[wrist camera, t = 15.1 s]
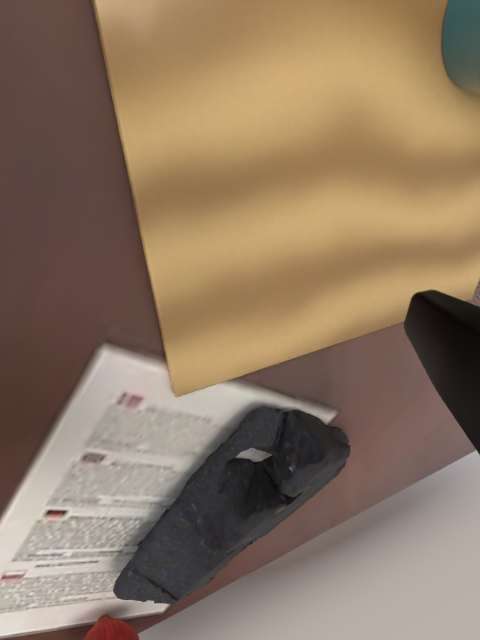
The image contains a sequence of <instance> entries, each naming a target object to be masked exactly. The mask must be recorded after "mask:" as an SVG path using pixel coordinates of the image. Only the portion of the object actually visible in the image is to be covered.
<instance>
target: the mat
mask: <svg viewBox="0 0 480 640" xmlns="http://www.w3.org/2000/svg"><path fill="white" fill-rule="evenodd" d="M92 3H93V8H94V13H95V18H96V22H97V27H98V32H99V37H100V42H101V47H102V51H103V56H104V61H105V66H106V71H107V76H108V80H109V85H110V90H111V95H112V100H113V104H114V109H115V114H116V119H117V124H118V129H119V133H120V138H121V143H122V148H123V153H124V158H125V162H126V167H127V172H128V177H129V182H130V186H131V191H132V196H133V201H134V206H135V211H136V215H137V220H138V225H139V230H140V235H141V240H142V244H143V249H144V254H145V259H146V264H147V268H148V273H149V278H150V283H151V288H152V293H153V297H154V302H155V307H156V312H157V317H158V322H159V326H160V331H161V336H162V341H163V346H164V351H165V355H166V360H167V365H168V370H169V375H170V379H171V384H172V389H173V393H174V395H175V397H179V396H182V395H185V394H188V393H191V392H194V391H197V390H200V389H203V388H206V387H209V386H212V385H215V384H218V383H221V382H224V381H227V380H230V379H233V378H236V377H239V376H242V375H245V374H248V373H251V372H254V371H257V370H260V369H263V368H266V367H269V366H272V365H275V364H278V363H281V362H284V361H287V360H290V359H293V358H296V357H299V356H302V355H305V354H308V353H311V352H314V351H317V350H320V349H323V348H326V347H329V346H332V345H335V344H338V343H341V342H344V341H347V340H350V339H353V338H356V337H359V336H362V335H365V334H368V333H371V332H374V331H377V330H380V329H383V328H386V327H389V326H392V325H395V324H398V323H401V322H404V321H405V317H406V314H407V310H408V307H409V304H410V300H411V297H412V296H413V295H414V294H415V293H417V292H421V291H426V290H437V291H440V292H442V293H445V294H447V295H450V296H453V297H455V298H458V299H460V300H463V301H467V300H470V299H472V297H473V295H474V292H475V289H476V287H477V284H478V281H479V279H480V93H476V92H470V91H466V90H463V89H461V88H459V87H458V86H456V85H455V84H454V83H453V82H452V80H451V79H450V77H449V76H448V74H447V71H446V69H445V66H444V62H443V57H442V45H441V39H442V27H443V21H444V16H445V11H446V7H447V4H448V0H92Z"/></svg>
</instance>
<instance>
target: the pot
mask: <svg viewBox="0 0 480 640" xmlns="http://www.w3.org/2000/svg"><path fill="white" fill-rule="evenodd" d="M441 45H442V57H443V62H444V66H445V69H446V71H447V74H448V76H449V77H450V79H451V80H452V82H453V83H454V84H455V85H456V86H458V87H459V88H461V89H463V90H466V91H470V92H476V93H480V0H448V4H447V7H446V11H445V16H444V21H443V27H442V39H441Z"/></svg>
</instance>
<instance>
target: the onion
mask: <svg viewBox="0 0 480 640" xmlns="http://www.w3.org/2000/svg"><path fill="white" fill-rule="evenodd" d="M83 640H139V637H138V635H137V633H136V632H135V631H134V630H133V628H132V627H131V626H129V625H128V624H127V623H125V622H124V621H122V620H120V619H117V618H113V617H111V616H107V615H105V616H102V617H101V618H99V620H98V621H97V622H96V623H95V625H94V626H93V627H92V628H91V629H90V631H89V632H88V633H87V634H86V636H85V637H84V639H83Z"/></svg>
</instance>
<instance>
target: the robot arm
mask: <svg viewBox="0 0 480 640" xmlns="http://www.w3.org/2000/svg"><path fill="white" fill-rule="evenodd" d="M404 329H405V332H406V334H407V336H408V338H409V340H410V342H411V344H412V346H413V348H414V349H415V351H416V353H417V355H418V357H419V359H420V361H421V363H422V364H423V366H424V368H425V370H426V372H427V374H428V376H429V378H430V379H431V381H432V383H433V385H434V387H435V388H436V390H437V392H438V393H439V395H440V396H441V398H442V400H443V401H444V403H445V404H446V406H447V407H448V409H449V410H450V411H451V413H452V414H453V416H454V417H455V419H456V420H457V422H458V423H459V425H460V426H461V428H462V429H463V431H464V432H465V434H466V435H467V437H468V438H469V440H470V441H471V443H472V444H473V445H474V447H475V448H476V450H477V451H478V453H479V454H480V307H479V306H476V305H473V304H471V303H468V302H466V301H463V300H460V299H458V298H455V297H453V296H450V295H447V294H445V293H442V292H440V291H437V290H426V291H421V292H417V293H415V294H414V295H413V296H412V297H411V300H410V304H409V307H408V310H407V314H406V317H405V321H404Z"/></svg>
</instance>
